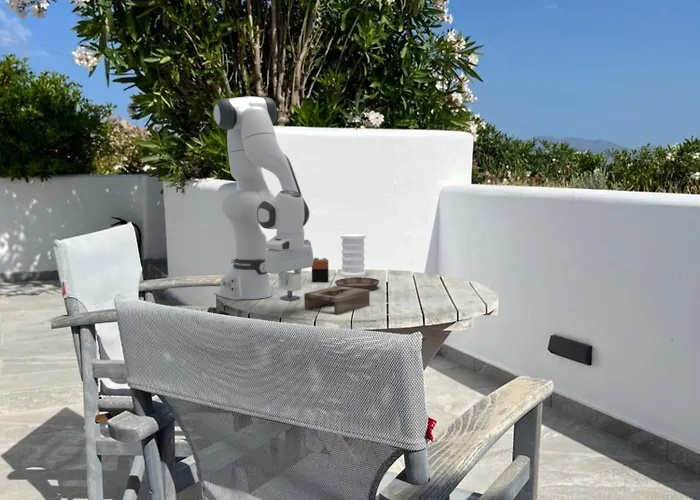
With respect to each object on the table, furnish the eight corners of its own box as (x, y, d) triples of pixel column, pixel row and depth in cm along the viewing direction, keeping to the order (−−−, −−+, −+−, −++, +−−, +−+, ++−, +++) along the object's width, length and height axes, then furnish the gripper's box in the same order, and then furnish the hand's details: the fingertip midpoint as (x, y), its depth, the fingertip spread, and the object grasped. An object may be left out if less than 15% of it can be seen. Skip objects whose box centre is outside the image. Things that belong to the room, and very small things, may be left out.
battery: (312, 280, 260) (312, 257, 259) (328, 280, 260) (328, 257, 259) (311, 282, 256) (311, 258, 254) (328, 282, 256) (328, 258, 254)
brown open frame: (304, 308, 205) (304, 293, 204) (336, 300, 219) (336, 285, 219) (338, 314, 197) (338, 298, 196) (369, 304, 211) (369, 289, 211)
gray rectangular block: (278, 299, 199) (278, 273, 198) (287, 297, 203) (287, 271, 202) (292, 302, 196) (292, 275, 195) (301, 299, 199) (301, 274, 198)
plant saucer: (341, 293, 232) (341, 285, 232) (329, 285, 249) (329, 278, 249) (385, 291, 237) (385, 283, 237) (371, 283, 254) (371, 276, 254)
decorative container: (371, 276, 272) (371, 235, 269) (348, 278, 266) (348, 236, 264) (357, 272, 281) (357, 233, 279) (335, 274, 276) (335, 234, 274)
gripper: (303, 238, 207) (302, 278, 209) (261, 243, 190) (261, 287, 192) (318, 239, 203) (317, 280, 205) (276, 245, 187) (276, 290, 189)
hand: (289, 284), depth 199 cm, fingers closed on gray rectangular block, 4 cm apart
